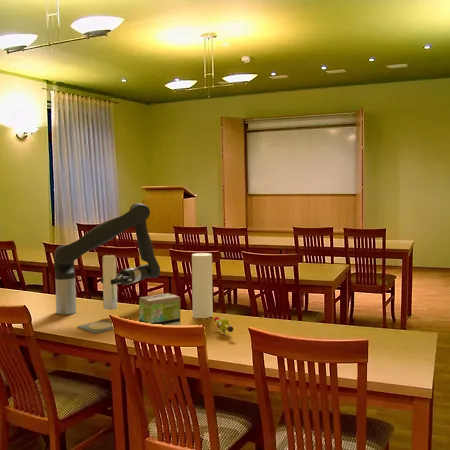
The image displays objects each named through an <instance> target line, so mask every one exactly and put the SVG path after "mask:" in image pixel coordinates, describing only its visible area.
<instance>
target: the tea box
mask: <svg viewBox="0 0 450 450" xmlns="http://www.w3.org/2000/svg"><path fill="white" fill-rule="evenodd" d="M138 299H139V300H138V303H139V305H138V306H139V307H138V313H139V314H138V317H139V319H138V323H139V322H145V323H151V324H162V325H180V326H181V296H178V295H176V294H172V293H170V292H166V293H160V294H156V295H147V296H140V297H139V298H138Z"/></svg>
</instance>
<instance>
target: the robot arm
mask: <svg viewBox="0 0 450 450" xmlns="http://www.w3.org/2000/svg"><path fill="white" fill-rule="evenodd" d="M150 215H151V210H150V208H149V207H148V206H147V205H146V204H143V203H140V202H134V203H133V204H131V206H130V207H129V211H127V212H125V213H123V214H122V215H120V216H117V217H114V218H112V219H109V220H106V221H104V222H102V223H100V224H98V225H95V227H92V229H90V230H89V231H87V232H86V233H85V234H84V235H82V236H81V237H80V238H79V239H77V240H75V241H73V242H71V243H68V244H60V245H59V246H57V247H56V249H54V253H53V258H54V259H53V260H54V278H55V279H54V280H55V312H56V314H57V315H62V316H63V315H67V316H68V315H72V314H75V313H77V293H76V270H75V269H76V268H75V261H76V260H77V259H79V258H80V257H82V256H83V255H84V254H86V253H88V252H89V251H92V250H93V249H96V248H97V247H100V246H103V245H104V244H106V243H107V242H109V241H111V240H113V239H114V238H115V237H117V236H119V235H120V234H122V233H123V232H125V231H127V230H128V229H129V228H132V227H134V230H135V231H134V232H135V234H136V235H135V236H136V239H137V244H138V251H139V256H140V259H141V261H143V262H146V264H142V265H139V266H137V267H130V268H129V267H128V268H125V269H121V270H120V271H119V272H118V273H117V279H113V280H111V284H112V285H113V284H117V285H120V284H121V285H123V286H127V285H130V284H134V283H137V282H139V281H143V280H145V279H147V278H148V279H152V278H155V279H156V278H158V277H160V274H161V267H160V264H159V262H158V260H157V258H156V256H155V253H154V246H153V244H152V239H151V237H150V233H149V230H148V227H147V220H148V219H149V217H150ZM100 283H101V284H103V277H101V278H100Z"/></svg>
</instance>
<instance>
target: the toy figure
mask: <svg viewBox="0 0 450 450" xmlns="http://www.w3.org/2000/svg"><path fill="white" fill-rule="evenodd" d="M213 321H214V322H215V323H216V329H218V330H220V331H221V333H222V332H223V334H225V335H226V331H227V332H229V333H232V332H234V327H233V326H231V325H230V324H231V323H230V321H229V320H228V318H226V317H219V316H215V317H214V320H213Z"/></svg>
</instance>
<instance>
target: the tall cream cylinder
mask: <svg viewBox="0 0 450 450" xmlns="http://www.w3.org/2000/svg"><path fill="white" fill-rule="evenodd" d="M101 260H102V278H103V283H102V294H103V296H102V299H103V301H102V302H103V307H102V308H103V310H107V311H109V310H117V309H118V284H113V285H112V284H111V280H113V279H117V274H118V269H117V267H118V266H117V265H118V264H117V257H116V255H115V254H106V255H102V258H101Z"/></svg>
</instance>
